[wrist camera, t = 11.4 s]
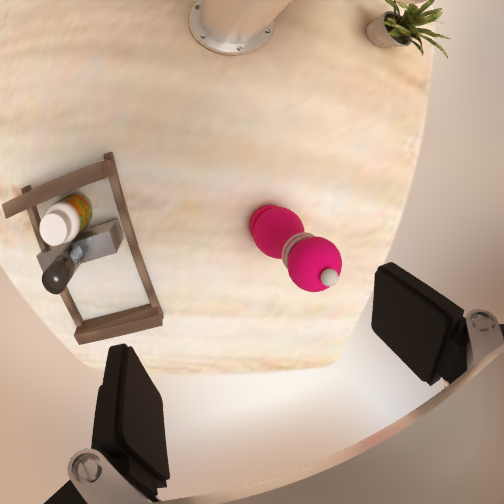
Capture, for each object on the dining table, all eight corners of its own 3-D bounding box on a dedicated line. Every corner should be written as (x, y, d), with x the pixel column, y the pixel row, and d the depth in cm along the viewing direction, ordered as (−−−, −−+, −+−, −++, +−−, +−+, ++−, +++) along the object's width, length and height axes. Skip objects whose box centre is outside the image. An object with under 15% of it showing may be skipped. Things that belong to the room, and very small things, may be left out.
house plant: (348, -13, 31) (404, -44, 17) (403, 21, 36) (462, 6, 21) (339, 41, 36) (404, 14, 21) (397, 74, 40) (464, 67, 26)
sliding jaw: (51, 241, 36) (11, 282, 23) (117, 218, 38) (93, 254, 25) (58, 258, 37) (22, 304, 24) (123, 238, 39) (103, 280, 26)
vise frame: (25, 187, 32) (-1, 197, 24) (112, 152, 34) (98, 154, 27) (85, 333, 43) (75, 362, 35) (163, 313, 45) (163, 343, 38)
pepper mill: (295, 234, 46) (367, 292, 29) (255, 253, 46) (310, 324, 28) (281, 194, 43) (357, 233, 25) (239, 213, 43) (290, 267, 25)
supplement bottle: (96, 223, 37) (77, 246, 28) (66, 232, 36) (42, 256, 27) (87, 188, 35) (64, 202, 26) (57, 198, 34) (29, 214, 25)
